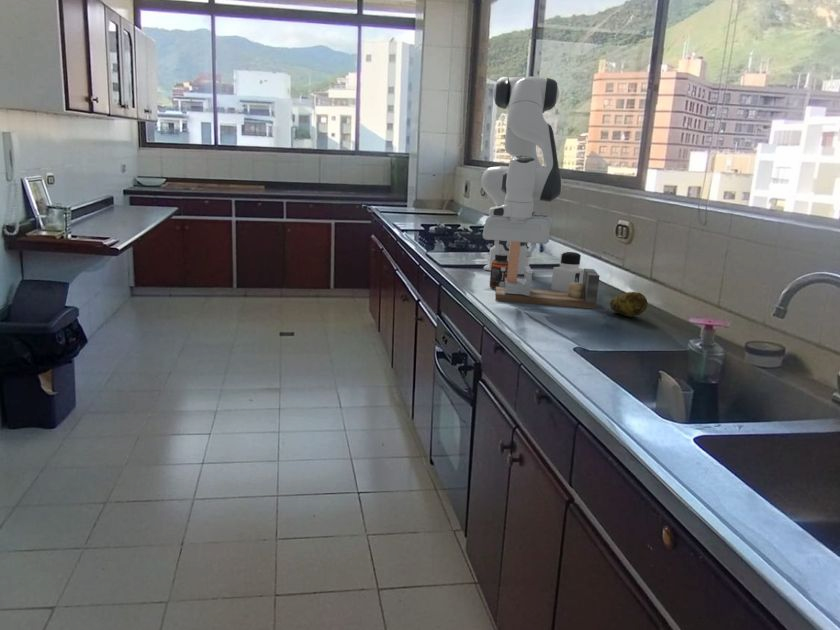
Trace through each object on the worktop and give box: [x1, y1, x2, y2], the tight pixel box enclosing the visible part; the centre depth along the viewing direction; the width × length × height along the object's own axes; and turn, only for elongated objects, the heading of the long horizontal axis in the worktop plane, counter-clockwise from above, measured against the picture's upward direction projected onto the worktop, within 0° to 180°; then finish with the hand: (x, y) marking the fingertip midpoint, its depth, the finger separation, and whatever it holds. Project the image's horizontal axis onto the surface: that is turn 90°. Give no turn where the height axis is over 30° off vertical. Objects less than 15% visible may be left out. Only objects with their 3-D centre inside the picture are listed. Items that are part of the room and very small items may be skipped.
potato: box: [609, 291, 649, 318], centre depth 193 cm, size 8×13×8 cm, turn 179°
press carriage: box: [504, 241, 533, 296], centre depth 208 cm, size 12×8×17 cm, turn 174°
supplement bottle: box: [489, 254, 508, 290], centre depth 223 cm, size 6×6×11 cm
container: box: [550, 251, 585, 292], centre depth 226 cm, size 8×8×13 cm
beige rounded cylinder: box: [568, 282, 584, 298], centre depth 208 cm, size 4×4×4 cm
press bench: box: [494, 268, 600, 310], centre depth 208 cm, size 12×30×10 cm, turn 84°
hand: (513, 256), depth 207 cm, fingers open, 8 cm apart
